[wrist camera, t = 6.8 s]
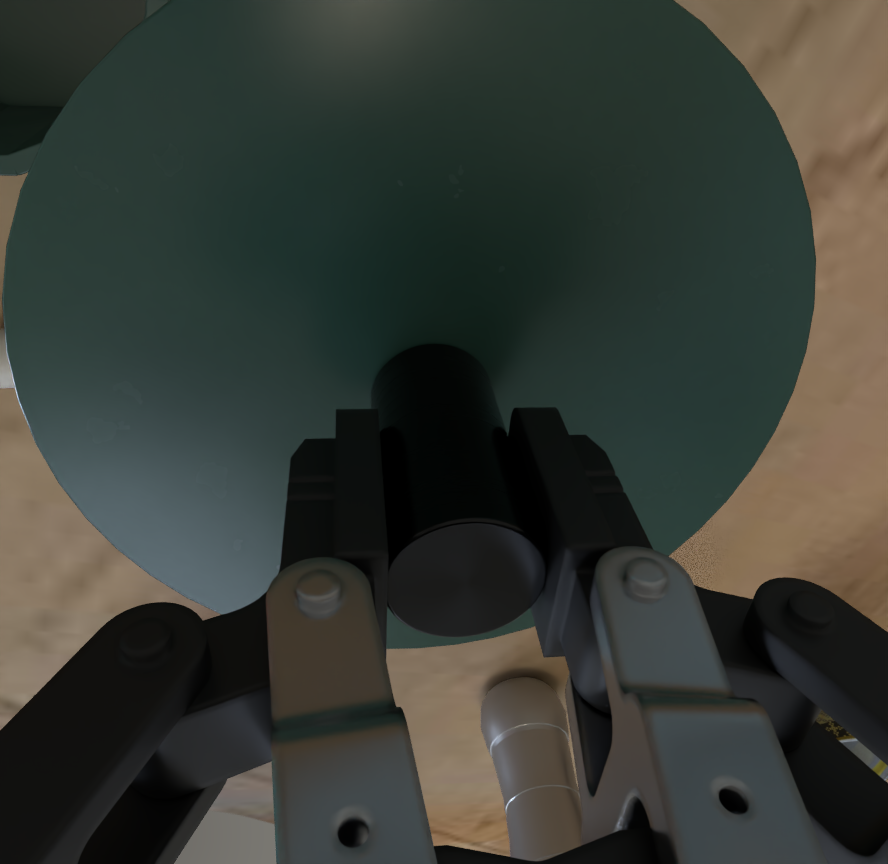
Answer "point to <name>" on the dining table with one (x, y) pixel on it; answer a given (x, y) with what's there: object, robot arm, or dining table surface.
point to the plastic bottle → (533, 767)
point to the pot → (52, 63)
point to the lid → (404, 280)
